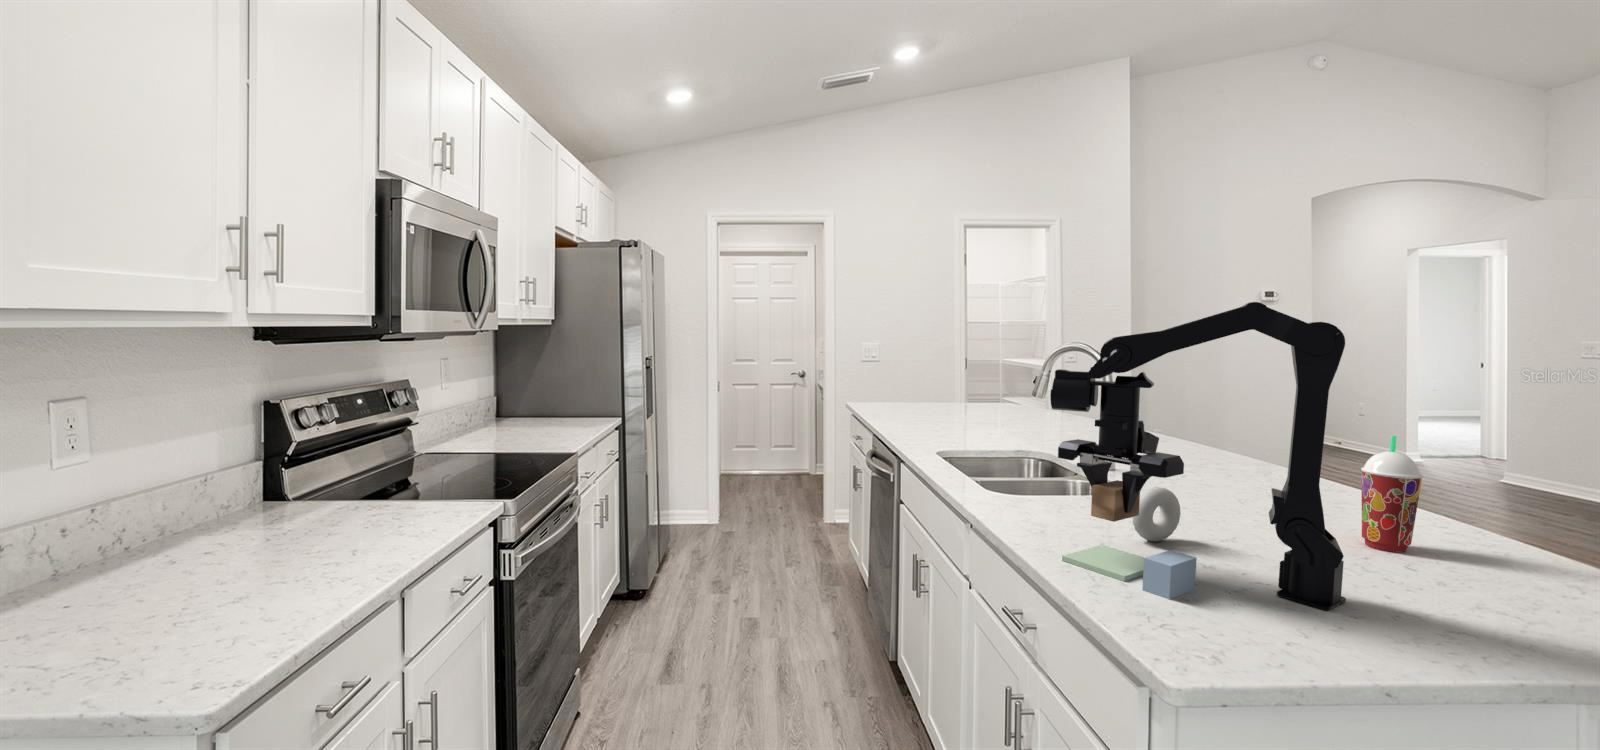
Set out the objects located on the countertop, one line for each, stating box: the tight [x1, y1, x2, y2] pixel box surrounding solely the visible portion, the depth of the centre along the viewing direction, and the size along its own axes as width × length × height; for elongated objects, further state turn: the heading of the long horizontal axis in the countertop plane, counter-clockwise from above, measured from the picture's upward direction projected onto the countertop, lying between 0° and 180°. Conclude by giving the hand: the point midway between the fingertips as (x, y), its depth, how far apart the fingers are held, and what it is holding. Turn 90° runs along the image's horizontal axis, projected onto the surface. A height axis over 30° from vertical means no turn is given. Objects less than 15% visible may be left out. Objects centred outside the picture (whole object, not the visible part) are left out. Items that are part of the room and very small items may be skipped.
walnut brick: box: [1090, 480, 1141, 522], centre depth 114 cm, size 4×7×5 cm, turn 124°
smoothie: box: [1360, 435, 1424, 553], centre depth 125 cm, size 8×8×20 cm
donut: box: [1131, 486, 1181, 543], centre depth 127 cm, size 10×4×10 cm, turn 111°
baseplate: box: [1061, 544, 1146, 582], centre depth 115 cm, size 11×11×1 cm
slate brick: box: [1141, 549, 1198, 600], centre depth 104 cm, size 4×7×5 cm, turn 123°
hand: (1115, 509), depth 114 cm, fingers closed on walnut brick, 4 cm apart
